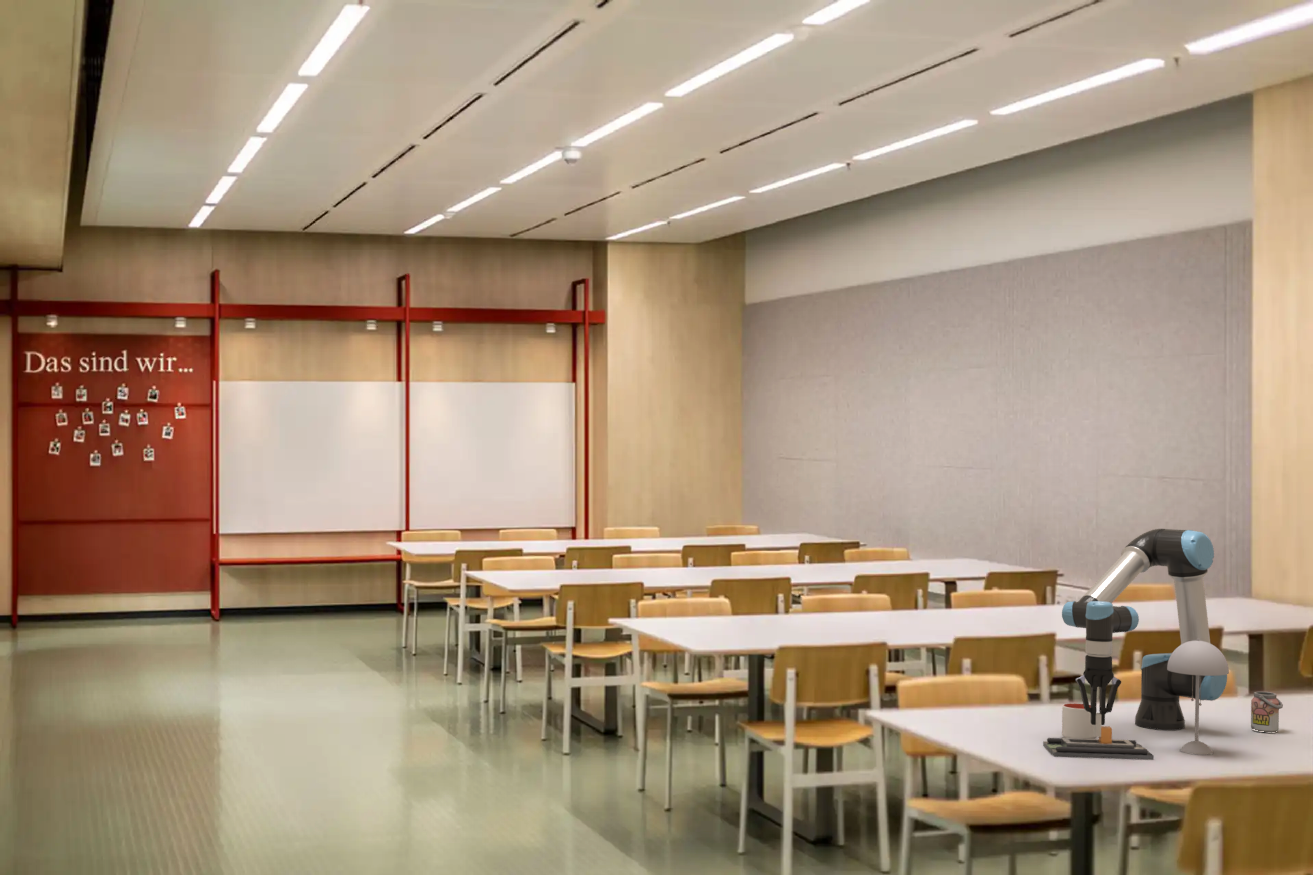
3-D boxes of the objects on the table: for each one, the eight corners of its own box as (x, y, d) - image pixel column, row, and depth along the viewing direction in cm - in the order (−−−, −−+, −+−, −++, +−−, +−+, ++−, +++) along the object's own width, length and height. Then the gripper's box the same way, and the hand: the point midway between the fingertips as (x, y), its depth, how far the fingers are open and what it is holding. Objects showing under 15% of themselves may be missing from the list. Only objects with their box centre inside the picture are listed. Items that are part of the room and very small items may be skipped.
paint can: (1286, 731, 473) (1286, 693, 473) (1276, 735, 466) (1276, 696, 466) (1256, 727, 479) (1257, 690, 479) (1246, 731, 473) (1247, 693, 473)
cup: (1078, 743, 448) (1078, 710, 448) (1054, 737, 457) (1055, 704, 457) (1103, 740, 453) (1103, 707, 453) (1079, 734, 462) (1080, 702, 462)
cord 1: (1134, 744, 441) (1134, 740, 441) (1136, 745, 440) (1136, 740, 440) (1046, 742, 443) (1046, 737, 443) (1047, 743, 442) (1047, 738, 442)
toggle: (1110, 747, 436) (1111, 726, 436) (1113, 749, 433) (1113, 728, 433) (1096, 746, 437) (1097, 725, 437) (1099, 749, 433) (1099, 728, 433)
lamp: (1220, 760, 427) (1222, 644, 427) (1159, 752, 436) (1161, 639, 436) (1232, 750, 442) (1234, 638, 442) (1173, 743, 451) (1175, 633, 451)
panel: (1139, 748, 442) (1139, 737, 442) (1153, 759, 426) (1153, 748, 426) (1043, 745, 444) (1043, 734, 444) (1053, 756, 428) (1054, 745, 428)
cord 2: (1146, 753, 428) (1146, 748, 428) (1147, 754, 427) (1147, 749, 427) (1055, 751, 430) (1055, 746, 430) (1056, 752, 429) (1056, 747, 429)
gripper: (1118, 653, 438) (1117, 734, 438) (1073, 652, 439) (1072, 732, 439) (1124, 657, 431) (1123, 739, 431) (1078, 656, 432) (1077, 737, 432)
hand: (1097, 736), depth 435 cm, fingers closed
